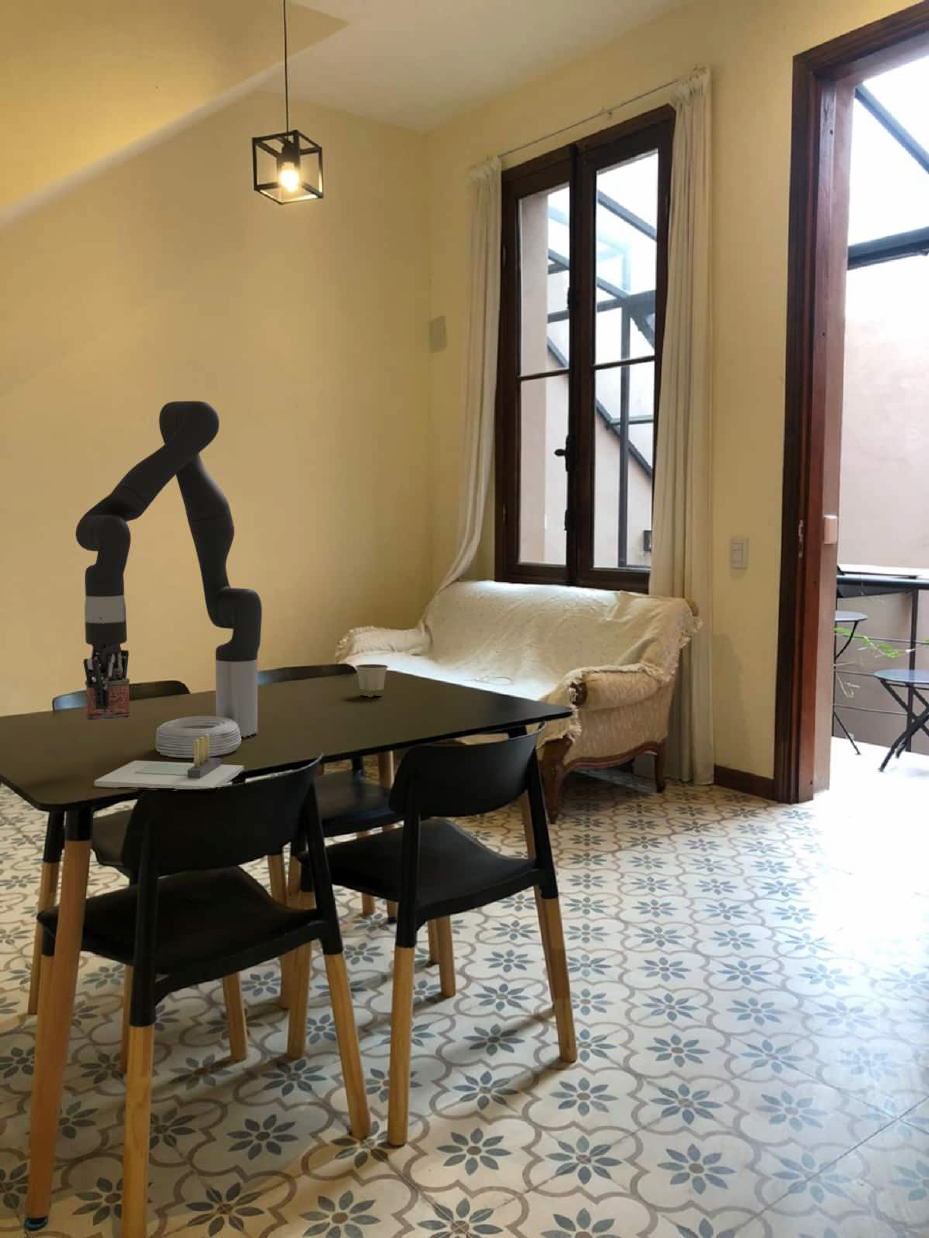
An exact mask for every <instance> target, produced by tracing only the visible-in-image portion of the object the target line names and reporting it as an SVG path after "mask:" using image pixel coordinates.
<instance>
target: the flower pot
mask: <svg viewBox="0 0 929 1238" xmlns="http://www.w3.org/2000/svg"><path fill="white" fill-rule="evenodd" d="M354 667H355V669H356V672H357V676H358V684H359V685H358V686H359V690H360V689H362V690H369V691H371V690H373V691H375V690H381V689H383V690H384V687H385V679H386V674H387V672H388V671H387V670H388V668H389V665H387V664H382V663H381V664H380V663H378V664H377V663H368V664H367V663H365V664H356V665H355V666H354Z"/></svg>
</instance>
